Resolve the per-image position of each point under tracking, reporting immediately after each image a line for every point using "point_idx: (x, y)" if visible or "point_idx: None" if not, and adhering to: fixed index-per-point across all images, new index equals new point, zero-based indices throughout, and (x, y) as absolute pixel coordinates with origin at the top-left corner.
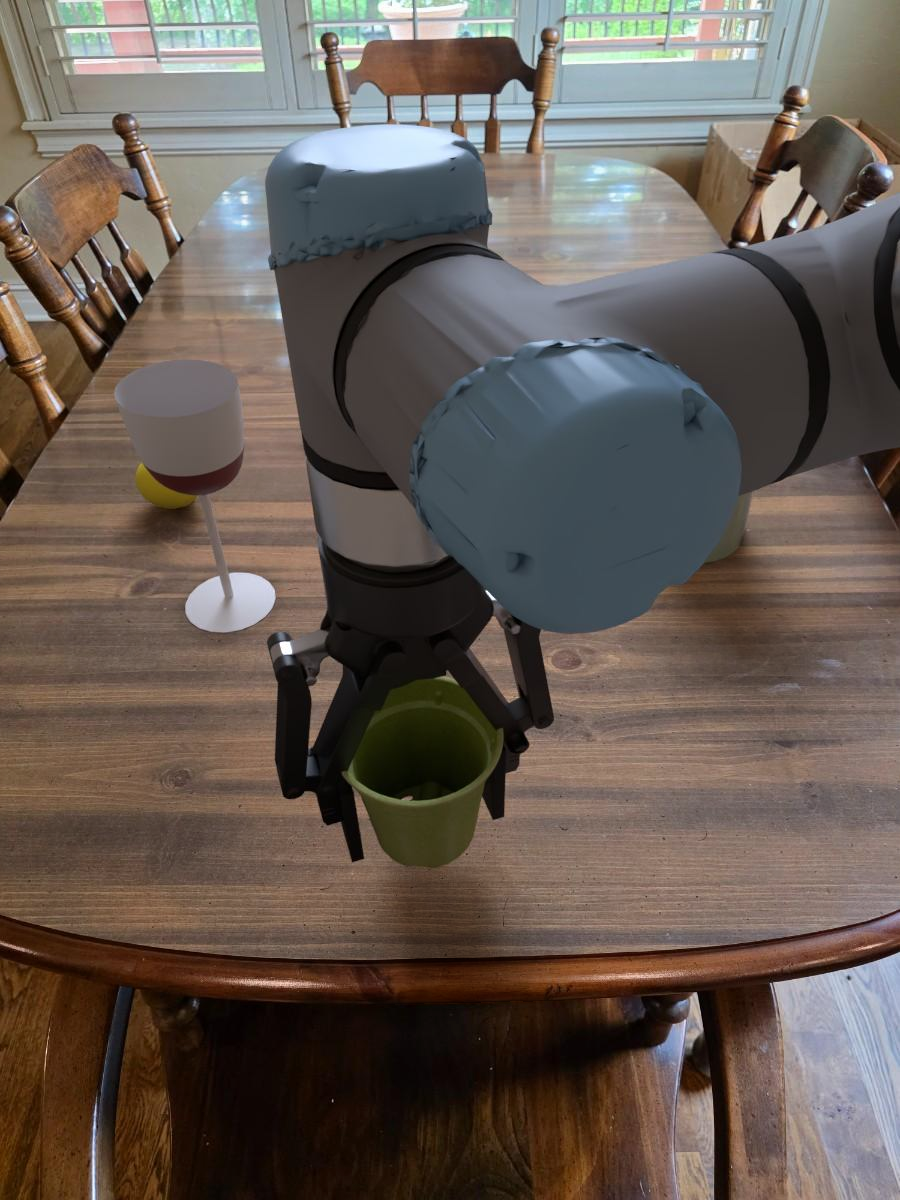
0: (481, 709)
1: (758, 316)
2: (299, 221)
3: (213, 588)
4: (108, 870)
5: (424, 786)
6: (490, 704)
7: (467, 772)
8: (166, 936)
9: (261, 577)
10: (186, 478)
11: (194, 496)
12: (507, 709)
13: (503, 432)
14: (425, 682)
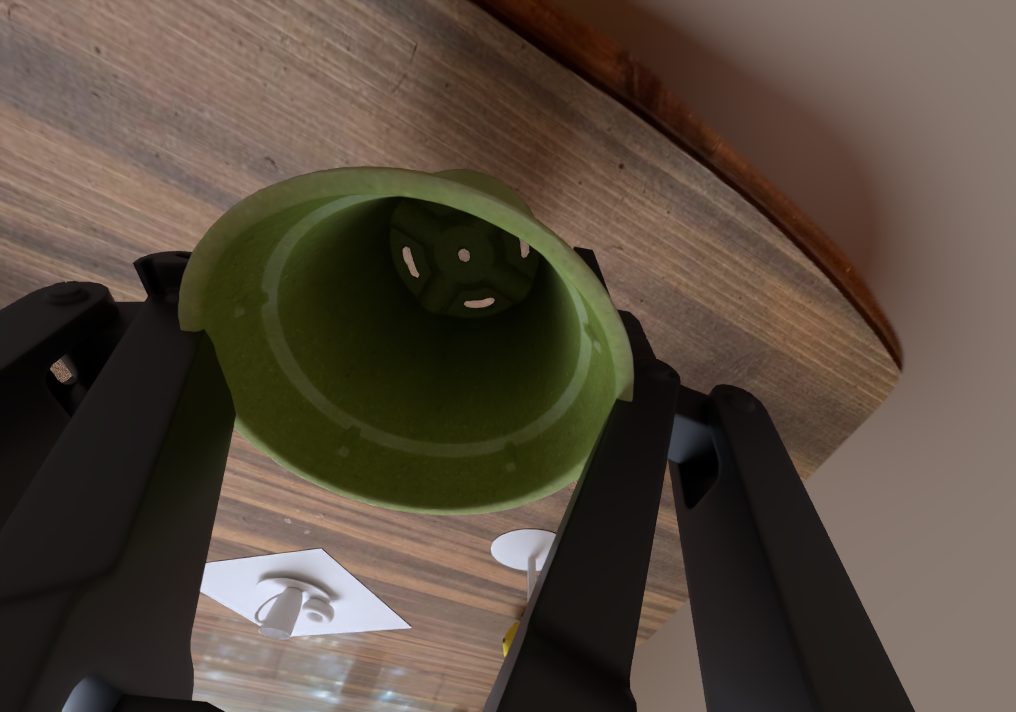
0: (167, 412)
1: None
2: None
3: (539, 565)
4: (795, 381)
5: (441, 309)
6: (122, 417)
7: (364, 293)
8: (807, 283)
9: (496, 558)
10: None
11: (515, 630)
12: (102, 373)
13: None
14: (357, 483)
